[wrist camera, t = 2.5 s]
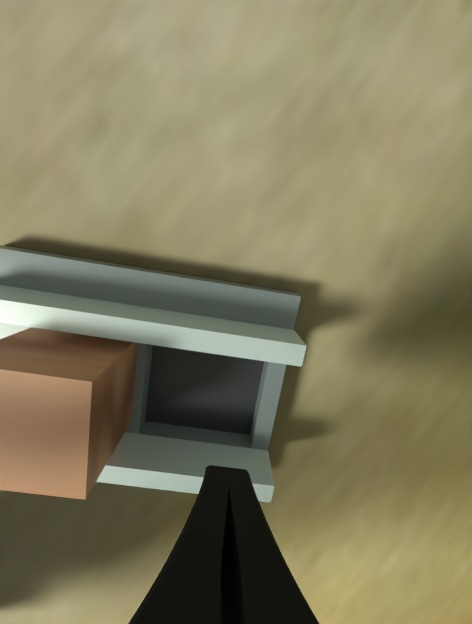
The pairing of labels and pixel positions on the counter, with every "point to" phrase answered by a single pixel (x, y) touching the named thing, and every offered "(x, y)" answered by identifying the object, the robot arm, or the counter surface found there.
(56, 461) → the cube
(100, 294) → the channel
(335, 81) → the counter surface
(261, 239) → the counter surface
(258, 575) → the robot arm
